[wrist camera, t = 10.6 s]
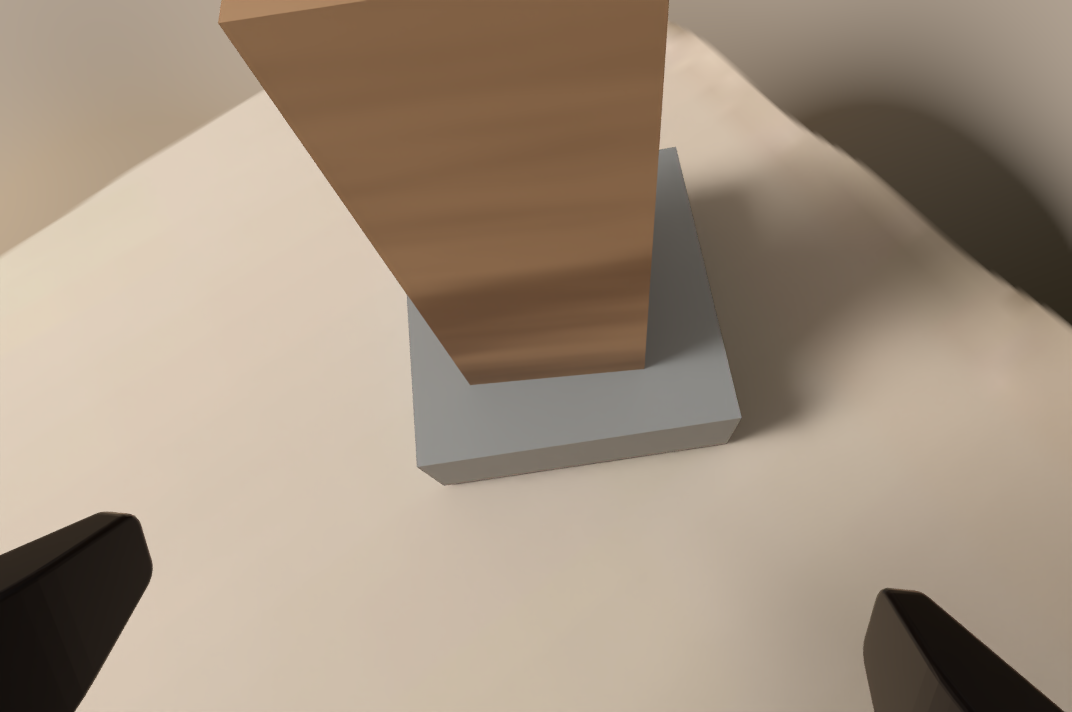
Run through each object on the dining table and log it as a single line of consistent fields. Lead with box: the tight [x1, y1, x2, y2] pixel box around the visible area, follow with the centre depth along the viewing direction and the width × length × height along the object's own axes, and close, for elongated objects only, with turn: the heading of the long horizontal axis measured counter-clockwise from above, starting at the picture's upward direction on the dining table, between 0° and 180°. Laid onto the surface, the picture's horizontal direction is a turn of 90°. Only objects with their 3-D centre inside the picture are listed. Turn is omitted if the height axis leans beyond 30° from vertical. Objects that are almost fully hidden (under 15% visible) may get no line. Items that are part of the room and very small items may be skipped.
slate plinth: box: [407, 147, 742, 486], centre depth 22 cm, size 9×9×3 cm
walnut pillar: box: [218, 0, 669, 385], centre depth 14 cm, size 5×5×13 cm
